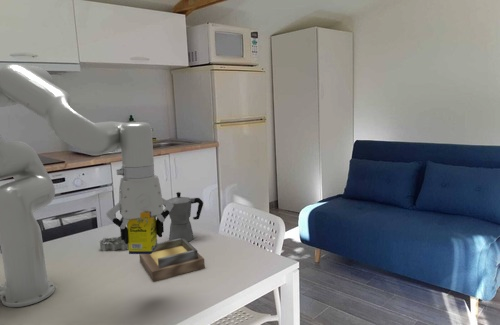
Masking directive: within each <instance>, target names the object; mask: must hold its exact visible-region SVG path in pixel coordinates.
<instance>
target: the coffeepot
mask: <svg viewBox="0 0 500 325" xmlns="http://www.w3.org/2000/svg"><path fill="white" fill-rule="evenodd" d="M175 194H176V197H172V198H169V199H166V200H167V201H169V202H171V203H172V204H173V205H174V206H173V208H172V209H171V211H170V212H169V215H168V216H169V218H170V226H169V227H170V228H169V236H168V241H170V240H174V239H179V238H184V239H185V240H186V241H188V242H189V243H190V242H191V241H192V240H193V239H194V238H195V236H194V231H193V226H192V223H191V221H190V218H191V212H192V204H197V203H198V205H197V210H196V216H193V217H192V219H193V220H199V219H200V216H201V213H202V209H203V206H204V201H203V200H202V199H201V198H200V197H188V196H181V194H182V193H181V192H180V191H178V192H176V193H175ZM163 207H164V209H165V208H166V205H164V204H163Z"/></svg>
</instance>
